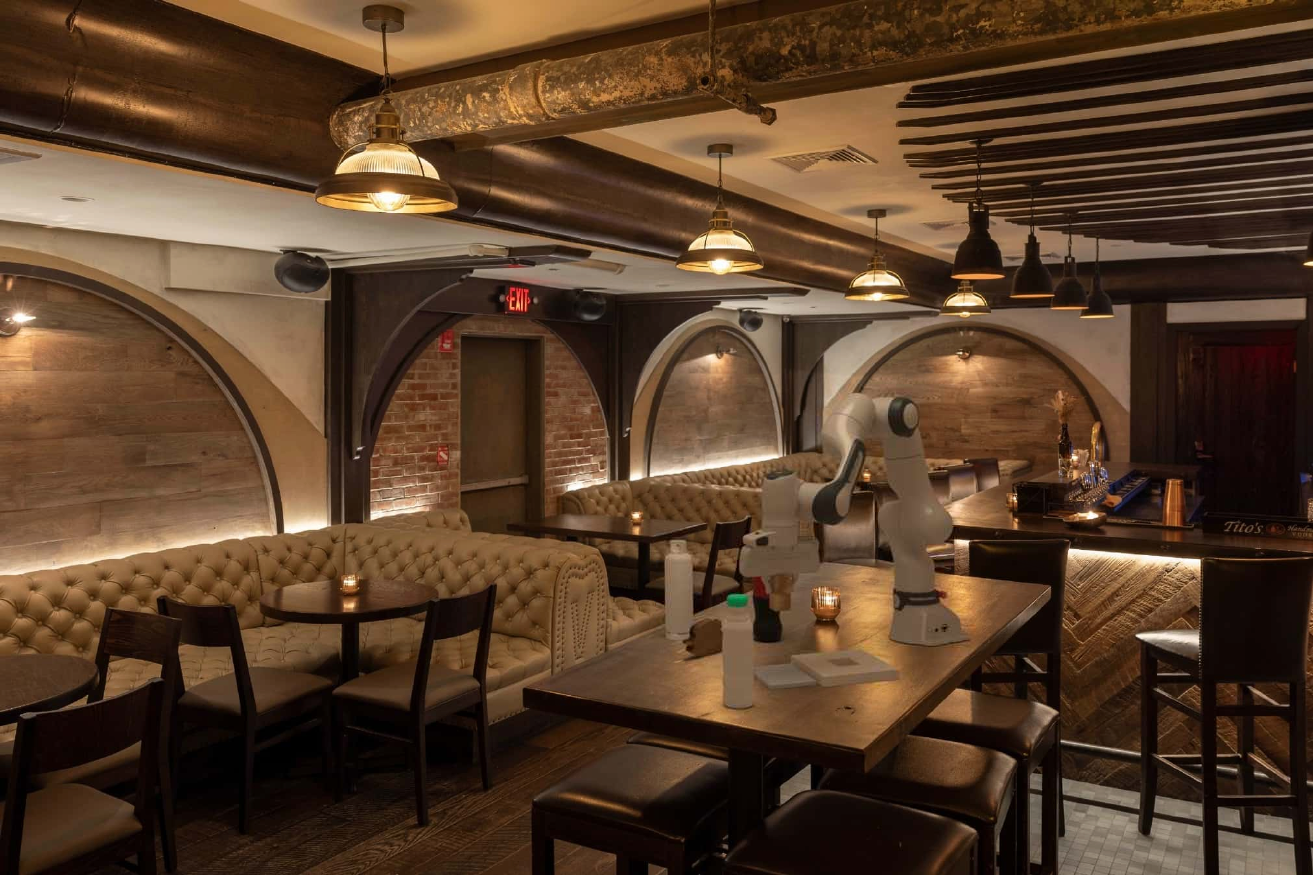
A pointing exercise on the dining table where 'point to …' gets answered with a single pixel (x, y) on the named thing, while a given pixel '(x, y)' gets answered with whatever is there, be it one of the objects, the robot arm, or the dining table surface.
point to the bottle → (678, 591)
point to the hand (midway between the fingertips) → (779, 592)
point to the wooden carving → (704, 637)
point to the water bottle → (737, 654)
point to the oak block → (780, 592)
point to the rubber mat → (782, 676)
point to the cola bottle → (764, 614)
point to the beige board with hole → (844, 667)
